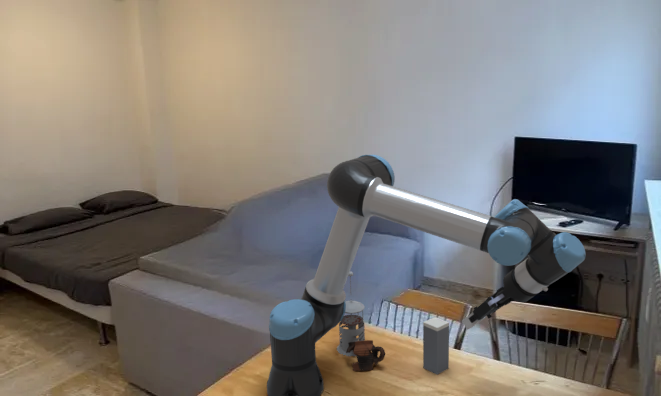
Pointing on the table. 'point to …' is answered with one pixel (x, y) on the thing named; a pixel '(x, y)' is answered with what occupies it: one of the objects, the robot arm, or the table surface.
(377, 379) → the table surface
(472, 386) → the table surface
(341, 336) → the french press
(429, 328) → the grey rectangular block
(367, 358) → the pottery mug
